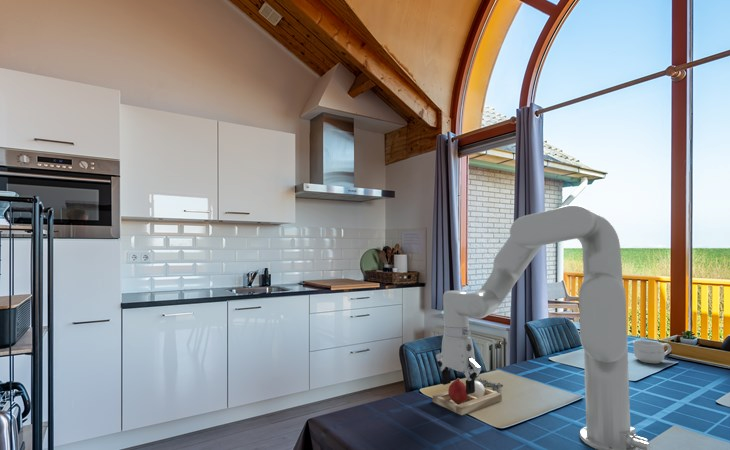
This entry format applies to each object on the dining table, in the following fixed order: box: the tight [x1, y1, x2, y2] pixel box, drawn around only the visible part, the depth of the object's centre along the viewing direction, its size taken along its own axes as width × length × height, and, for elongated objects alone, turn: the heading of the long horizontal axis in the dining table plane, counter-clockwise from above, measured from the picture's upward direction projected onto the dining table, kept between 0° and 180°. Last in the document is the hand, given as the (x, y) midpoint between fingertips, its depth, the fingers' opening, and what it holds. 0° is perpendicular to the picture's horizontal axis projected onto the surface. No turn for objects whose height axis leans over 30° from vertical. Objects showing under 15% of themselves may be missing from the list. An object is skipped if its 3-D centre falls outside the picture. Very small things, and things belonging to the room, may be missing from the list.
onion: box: [448, 377, 468, 405], centre depth 121 cm, size 6×6×8 cm
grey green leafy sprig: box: [475, 377, 504, 394], centre depth 133 cm, size 11×8×4 cm
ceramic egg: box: [470, 381, 485, 398], centre depth 125 cm, size 5×5×5 cm
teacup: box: [632, 339, 672, 364], centre depth 165 cm, size 14×11×8 cm
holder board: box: [432, 384, 503, 416], centre depth 123 cm, size 12×18×3 cm, turn 124°
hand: (458, 388), depth 121 cm, fingers open, 9 cm apart
